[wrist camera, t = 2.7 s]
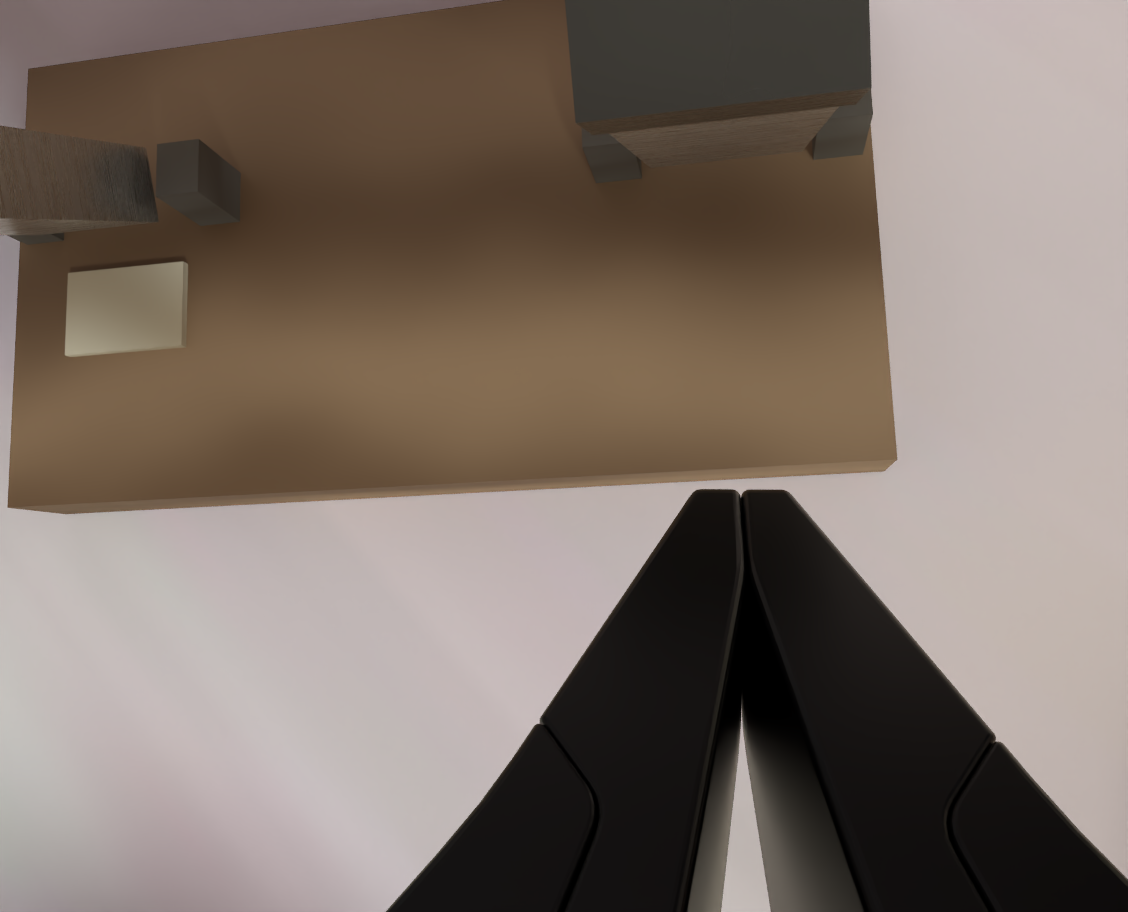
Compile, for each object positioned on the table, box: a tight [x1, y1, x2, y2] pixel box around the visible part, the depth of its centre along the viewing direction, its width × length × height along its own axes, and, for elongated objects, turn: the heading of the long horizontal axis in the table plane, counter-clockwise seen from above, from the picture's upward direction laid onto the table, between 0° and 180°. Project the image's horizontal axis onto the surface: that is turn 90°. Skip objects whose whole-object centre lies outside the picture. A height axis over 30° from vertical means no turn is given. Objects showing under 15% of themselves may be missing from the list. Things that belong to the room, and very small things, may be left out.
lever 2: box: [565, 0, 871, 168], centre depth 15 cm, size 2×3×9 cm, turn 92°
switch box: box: [8, 0, 897, 514], centre depth 22 cm, size 11×20×4 cm, turn 92°
